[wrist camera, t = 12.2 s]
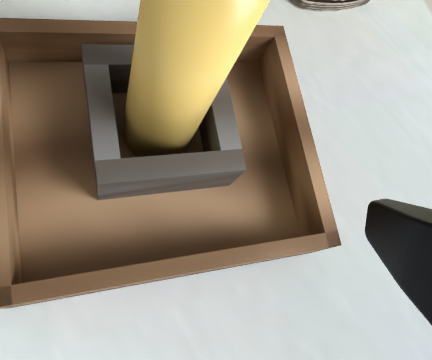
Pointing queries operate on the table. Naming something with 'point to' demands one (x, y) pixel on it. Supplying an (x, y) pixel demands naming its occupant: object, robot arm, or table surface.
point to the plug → (181, 67)
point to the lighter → (328, 4)
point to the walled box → (145, 167)
